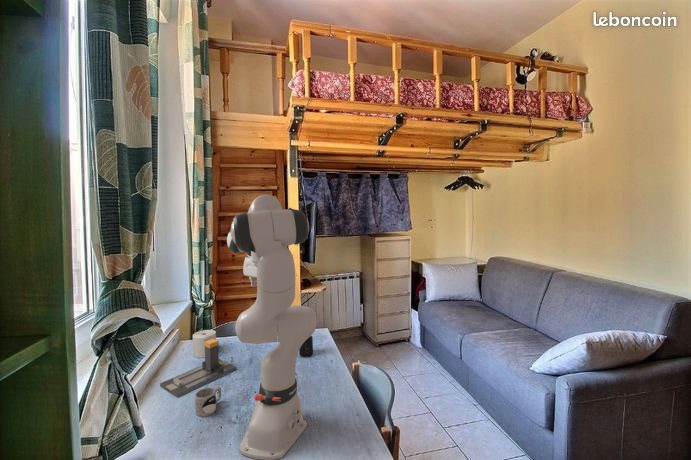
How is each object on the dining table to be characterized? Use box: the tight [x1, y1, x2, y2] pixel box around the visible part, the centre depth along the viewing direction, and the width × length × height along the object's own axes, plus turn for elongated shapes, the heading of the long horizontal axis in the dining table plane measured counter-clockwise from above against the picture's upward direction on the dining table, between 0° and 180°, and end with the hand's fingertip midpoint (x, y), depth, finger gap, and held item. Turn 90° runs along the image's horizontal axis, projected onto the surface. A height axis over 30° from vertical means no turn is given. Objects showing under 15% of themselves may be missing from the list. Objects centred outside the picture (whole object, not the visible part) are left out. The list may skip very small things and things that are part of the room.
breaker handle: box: [204, 339, 220, 371], centre depth 137 cm, size 4×4×12 cm
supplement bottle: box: [298, 335, 314, 358], centre depth 153 cm, size 7×7×12 cm
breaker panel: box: [159, 358, 237, 398], centre depth 133 cm, size 26×14×3 cm, turn 145°
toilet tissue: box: [192, 329, 217, 359], centre depth 156 cm, size 11×12×10 cm
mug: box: [194, 386, 222, 418], centre depth 112 cm, size 10×7×7 cm
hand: (260, 287), depth 137 cm, fingers open, 8 cm apart
